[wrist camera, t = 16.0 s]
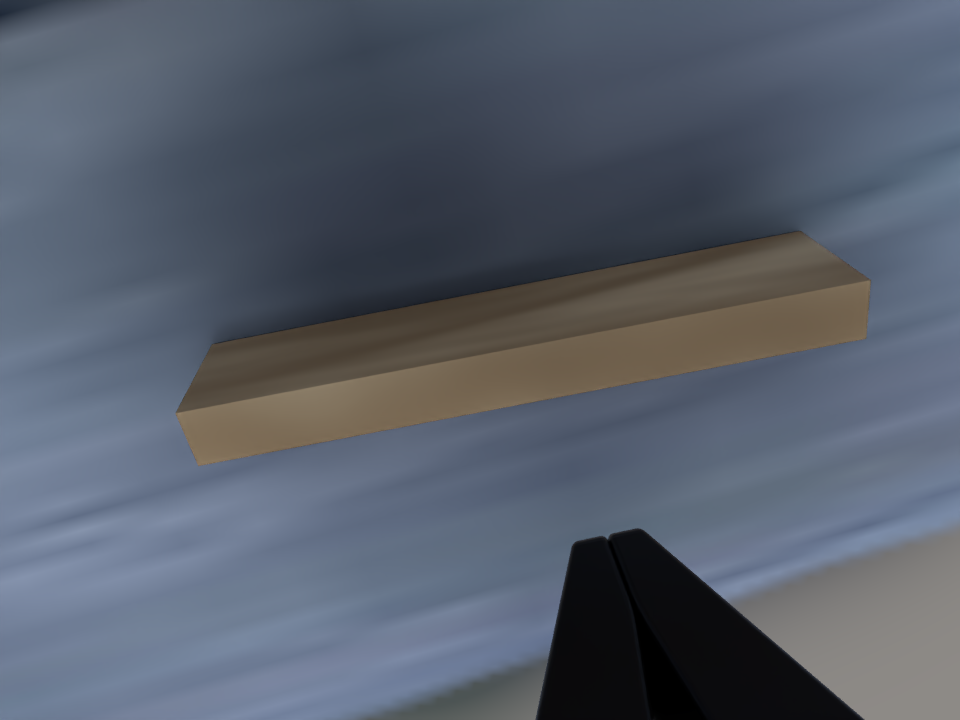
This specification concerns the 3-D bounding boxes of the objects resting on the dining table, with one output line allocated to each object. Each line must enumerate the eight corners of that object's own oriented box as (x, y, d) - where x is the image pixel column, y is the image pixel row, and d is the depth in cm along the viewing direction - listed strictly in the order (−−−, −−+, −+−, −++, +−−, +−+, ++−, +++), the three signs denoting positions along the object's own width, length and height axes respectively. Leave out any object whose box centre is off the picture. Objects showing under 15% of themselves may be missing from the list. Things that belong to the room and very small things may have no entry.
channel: (34, -109, 15) (-62, -127, 12) (816, -267, 15) (920, -325, 12) (230, 391, 21) (198, 465, 18) (798, 282, 21) (866, 339, 18)
